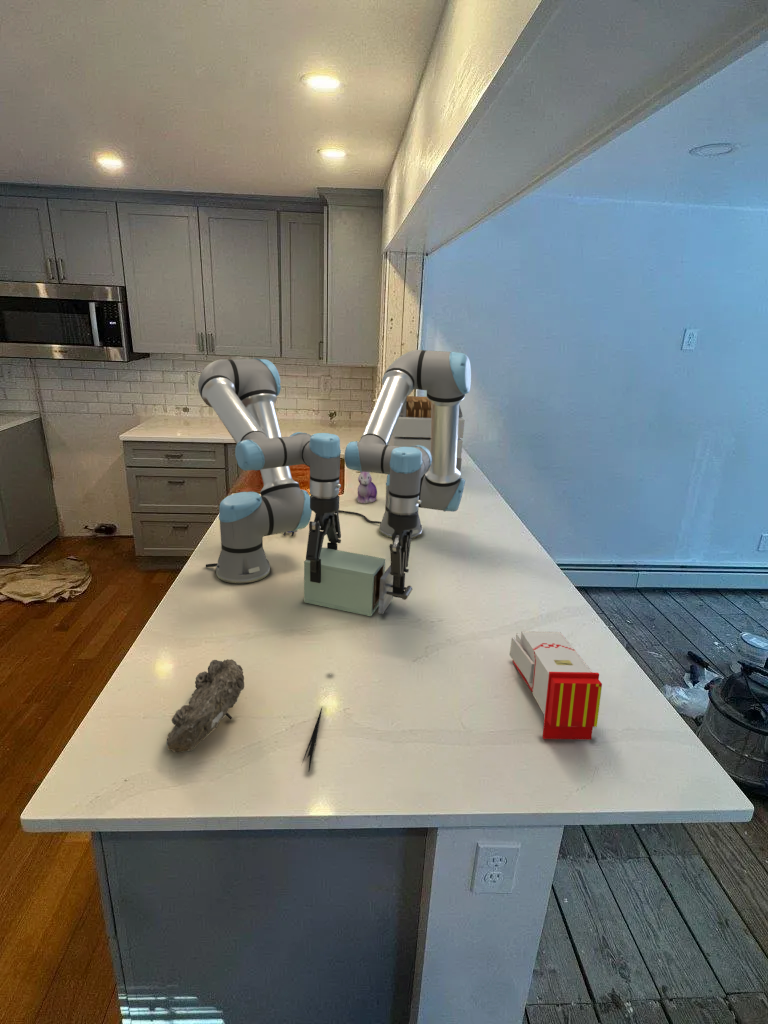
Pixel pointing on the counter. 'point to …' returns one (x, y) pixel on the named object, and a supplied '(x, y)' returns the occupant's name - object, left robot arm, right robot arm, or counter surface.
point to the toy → (558, 683)
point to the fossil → (206, 705)
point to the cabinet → (343, 581)
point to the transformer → (420, 426)
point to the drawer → (386, 589)
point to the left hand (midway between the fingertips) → (324, 573)
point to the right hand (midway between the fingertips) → (398, 595)
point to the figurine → (366, 488)
